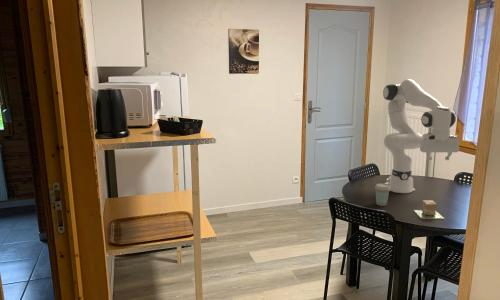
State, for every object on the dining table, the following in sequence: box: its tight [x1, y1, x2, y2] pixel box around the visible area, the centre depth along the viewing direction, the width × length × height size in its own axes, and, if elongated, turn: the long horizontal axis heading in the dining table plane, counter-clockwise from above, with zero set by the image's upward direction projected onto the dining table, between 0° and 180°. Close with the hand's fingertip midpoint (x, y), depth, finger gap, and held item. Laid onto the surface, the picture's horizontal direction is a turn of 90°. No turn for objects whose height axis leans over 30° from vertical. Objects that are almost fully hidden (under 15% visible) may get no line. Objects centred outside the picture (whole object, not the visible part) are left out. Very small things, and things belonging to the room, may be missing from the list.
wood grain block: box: [421, 199, 437, 215], centre depth 207 cm, size 5×5×7 cm
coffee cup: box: [374, 182, 390, 207], centre depth 225 cm, size 8×8×12 cm
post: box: [413, 209, 445, 220], centre depth 208 cm, size 12×12×7 cm
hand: (438, 159), depth 212 cm, fingers open, 8 cm apart
